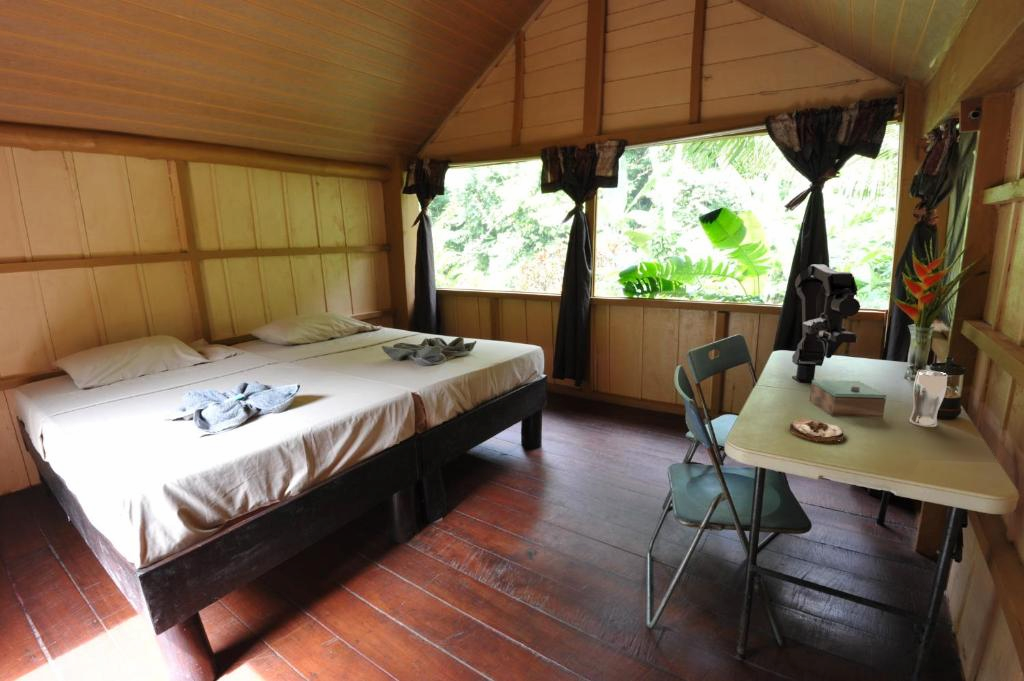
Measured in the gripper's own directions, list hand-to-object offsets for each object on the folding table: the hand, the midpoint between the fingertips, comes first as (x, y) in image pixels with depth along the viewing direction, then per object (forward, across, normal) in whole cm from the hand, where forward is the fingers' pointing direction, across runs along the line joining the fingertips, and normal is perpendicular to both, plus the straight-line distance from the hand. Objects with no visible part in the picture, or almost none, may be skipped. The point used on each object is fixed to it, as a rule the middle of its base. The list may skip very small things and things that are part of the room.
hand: (827, 357), depth 161 cm
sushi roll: (+14, +33, -18) cm, 40 cm away
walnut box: (+13, +13, 0) cm, 18 cm away
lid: (+7, +13, 0) cm, 15 cm away
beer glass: (+13, +23, +16) cm, 31 cm away
